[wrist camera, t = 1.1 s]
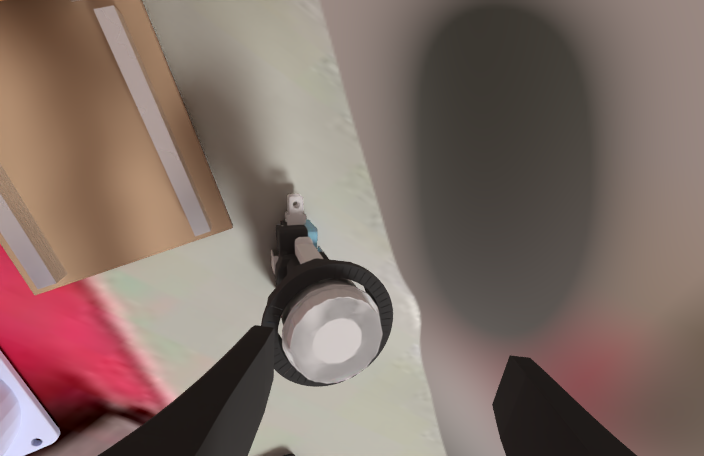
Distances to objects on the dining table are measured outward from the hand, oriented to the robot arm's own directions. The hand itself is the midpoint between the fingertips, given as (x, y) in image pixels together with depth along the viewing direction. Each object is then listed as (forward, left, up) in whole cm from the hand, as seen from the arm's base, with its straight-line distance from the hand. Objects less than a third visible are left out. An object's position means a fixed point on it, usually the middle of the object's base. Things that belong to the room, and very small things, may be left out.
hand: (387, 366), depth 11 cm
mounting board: (-9, +10, -12) cm, 18 cm away
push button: (-1, 0, -13) cm, 13 cm away
